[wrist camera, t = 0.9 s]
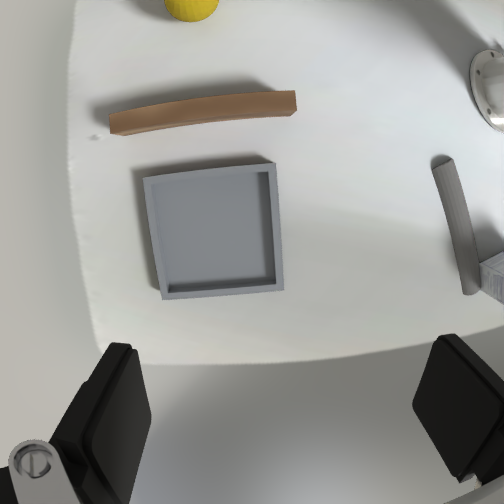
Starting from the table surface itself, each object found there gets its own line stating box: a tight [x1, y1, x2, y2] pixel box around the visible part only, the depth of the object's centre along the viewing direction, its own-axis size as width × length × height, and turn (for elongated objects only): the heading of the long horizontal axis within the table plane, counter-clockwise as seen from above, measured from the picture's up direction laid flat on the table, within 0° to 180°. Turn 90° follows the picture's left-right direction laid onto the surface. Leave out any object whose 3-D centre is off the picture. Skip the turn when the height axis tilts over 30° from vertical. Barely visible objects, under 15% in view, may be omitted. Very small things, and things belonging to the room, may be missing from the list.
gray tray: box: [143, 163, 284, 300], centre depth 33 cm, size 14×14×2 cm
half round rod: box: [432, 159, 481, 295], centre depth 35 cm, size 4×20×2 cm, turn 28°
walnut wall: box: [109, 90, 297, 136], centre depth 29 cm, size 2×18×4 cm, turn 95°
